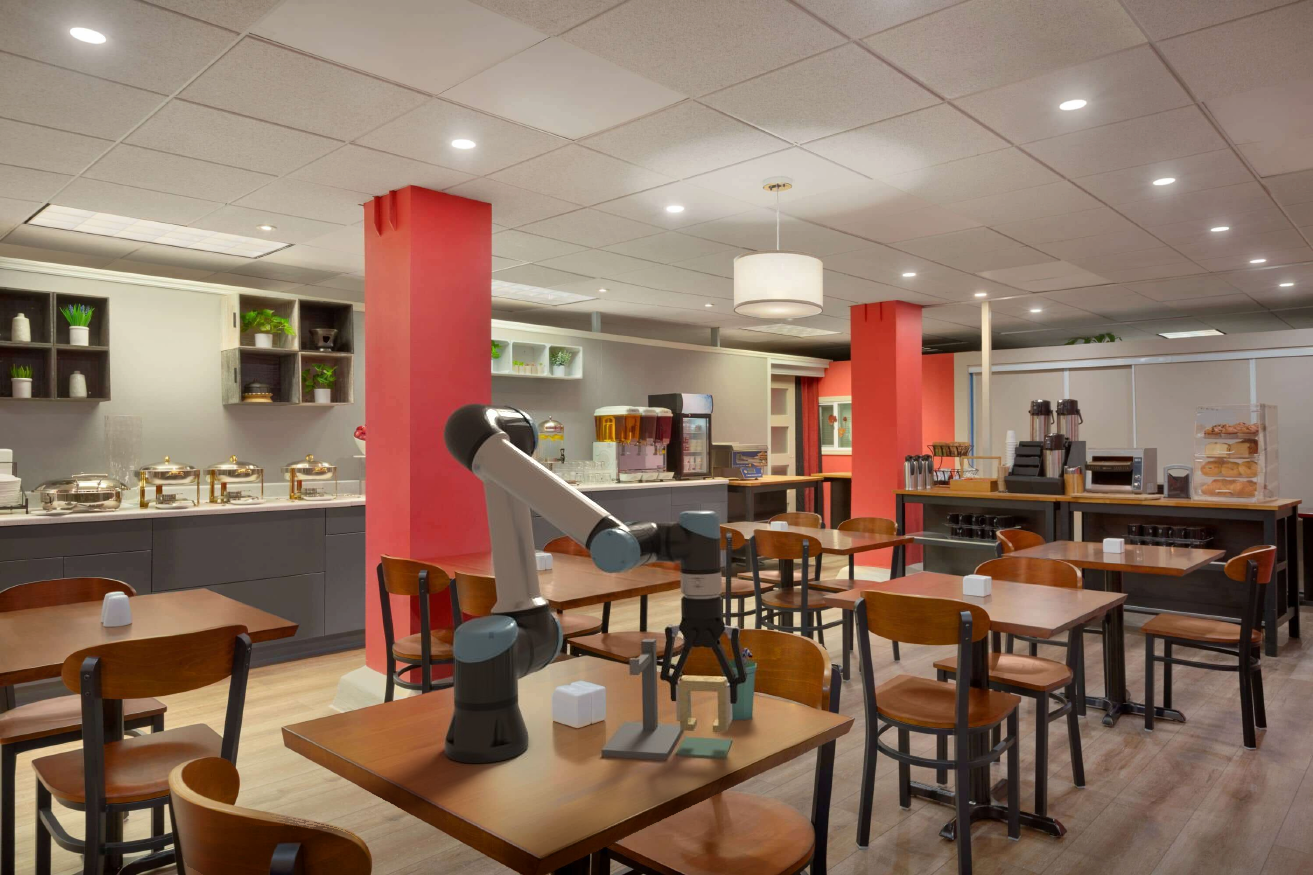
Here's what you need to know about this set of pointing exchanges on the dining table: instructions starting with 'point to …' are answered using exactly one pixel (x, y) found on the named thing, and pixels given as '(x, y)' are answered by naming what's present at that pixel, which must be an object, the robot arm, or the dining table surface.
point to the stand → (645, 717)
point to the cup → (744, 689)
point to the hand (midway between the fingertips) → (704, 719)
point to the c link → (702, 684)
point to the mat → (704, 747)
